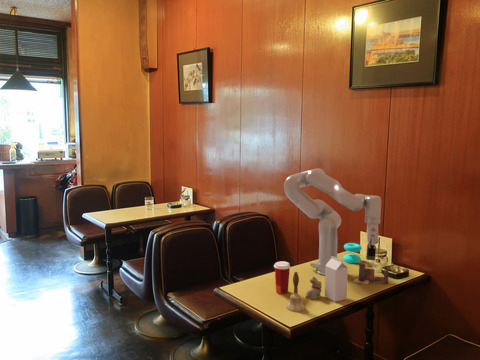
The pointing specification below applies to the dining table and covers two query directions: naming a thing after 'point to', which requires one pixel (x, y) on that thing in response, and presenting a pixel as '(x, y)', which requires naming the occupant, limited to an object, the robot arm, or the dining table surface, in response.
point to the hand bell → (295, 297)
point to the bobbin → (361, 274)
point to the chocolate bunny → (314, 289)
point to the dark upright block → (370, 256)
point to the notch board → (372, 279)
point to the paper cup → (282, 277)
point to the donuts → (352, 248)
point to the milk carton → (336, 280)
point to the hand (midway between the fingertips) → (371, 254)
